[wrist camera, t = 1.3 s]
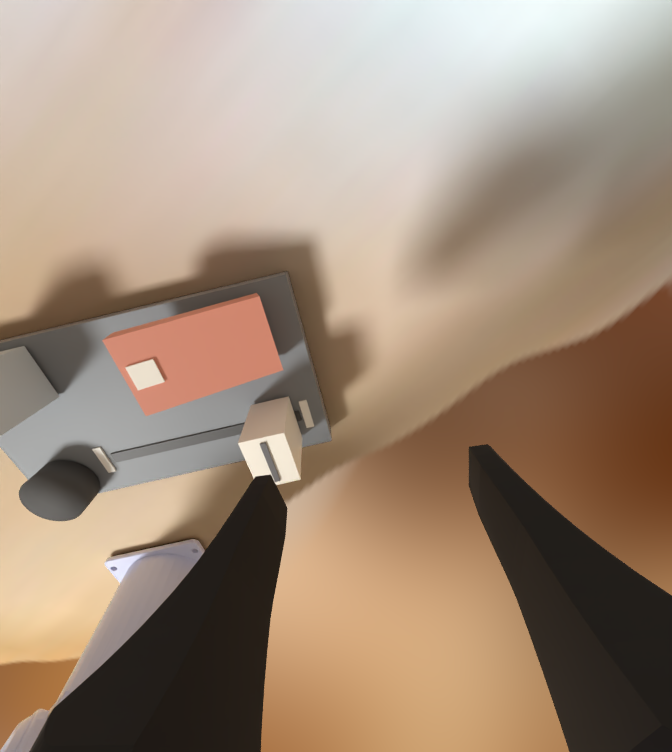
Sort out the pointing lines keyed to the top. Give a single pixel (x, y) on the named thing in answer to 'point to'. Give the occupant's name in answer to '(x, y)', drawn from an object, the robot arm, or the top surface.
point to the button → (60, 490)
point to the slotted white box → (21, 388)
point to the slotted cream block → (272, 441)
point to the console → (165, 428)
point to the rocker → (195, 353)
